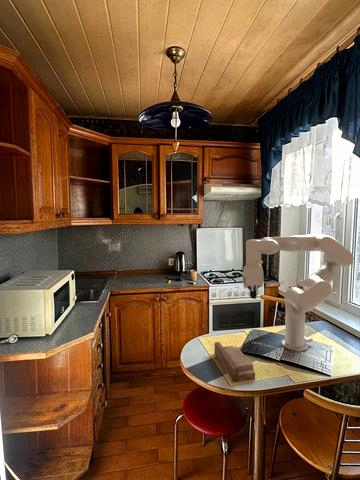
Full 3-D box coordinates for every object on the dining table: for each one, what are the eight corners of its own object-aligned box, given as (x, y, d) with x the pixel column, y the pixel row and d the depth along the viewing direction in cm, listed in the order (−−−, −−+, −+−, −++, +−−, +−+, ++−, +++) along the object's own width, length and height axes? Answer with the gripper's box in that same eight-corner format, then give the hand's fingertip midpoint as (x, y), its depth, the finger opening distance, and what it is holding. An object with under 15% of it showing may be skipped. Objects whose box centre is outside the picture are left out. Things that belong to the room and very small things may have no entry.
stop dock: (232, 351, 138) (232, 340, 138) (255, 379, 115) (255, 365, 114) (214, 353, 136) (214, 342, 136) (233, 382, 113) (233, 369, 112)
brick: (254, 373, 120) (254, 363, 119) (237, 376, 117) (237, 366, 117) (236, 354, 136) (236, 345, 135) (221, 357, 133) (221, 348, 133)
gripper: (262, 261, 143) (262, 294, 145) (236, 263, 140) (236, 297, 141) (270, 263, 136) (270, 298, 138) (243, 265, 132) (243, 301, 134)
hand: (253, 297), depth 139 cm, fingers closed
